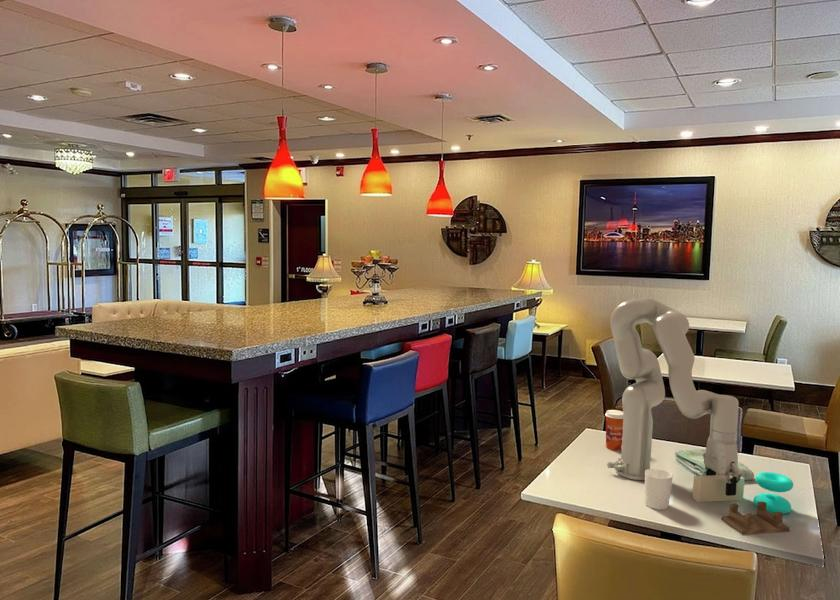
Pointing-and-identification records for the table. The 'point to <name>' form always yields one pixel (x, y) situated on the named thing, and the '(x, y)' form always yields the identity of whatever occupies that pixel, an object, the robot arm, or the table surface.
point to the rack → (755, 520)
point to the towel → (695, 463)
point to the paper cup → (614, 429)
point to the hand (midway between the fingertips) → (720, 488)
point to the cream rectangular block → (715, 488)
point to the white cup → (657, 488)
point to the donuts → (774, 484)
